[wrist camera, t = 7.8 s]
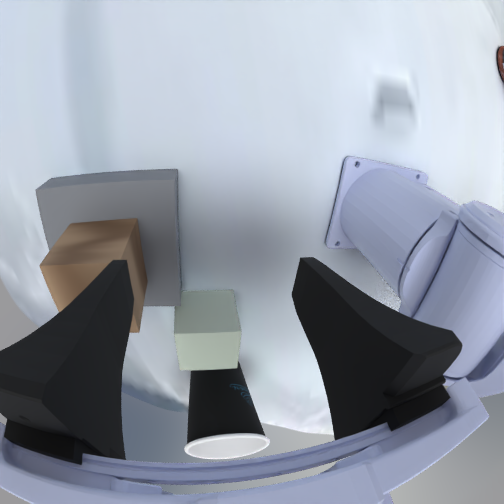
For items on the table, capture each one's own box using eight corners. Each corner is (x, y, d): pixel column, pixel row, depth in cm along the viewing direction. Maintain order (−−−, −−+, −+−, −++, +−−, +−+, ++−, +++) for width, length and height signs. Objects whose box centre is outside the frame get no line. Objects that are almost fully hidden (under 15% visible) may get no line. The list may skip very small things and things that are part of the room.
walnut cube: (137, 218, 16) (119, 262, 12) (147, 280, 19) (139, 332, 15) (70, 223, 15) (39, 265, 11) (87, 282, 18) (68, 330, 14)
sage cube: (232, 288, 24) (241, 331, 20) (229, 327, 26) (237, 368, 22) (175, 290, 23) (174, 333, 19) (179, 328, 25) (180, 370, 21)
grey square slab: (178, 167, 18) (174, 179, 15) (181, 282, 23) (180, 305, 21) (53, 176, 16) (35, 189, 13) (77, 282, 21) (68, 304, 18)
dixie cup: (172, 372, 29) (176, 457, 20) (190, 332, 26) (197, 435, 17) (233, 381, 32) (248, 458, 23) (260, 344, 29) (286, 434, 20)
